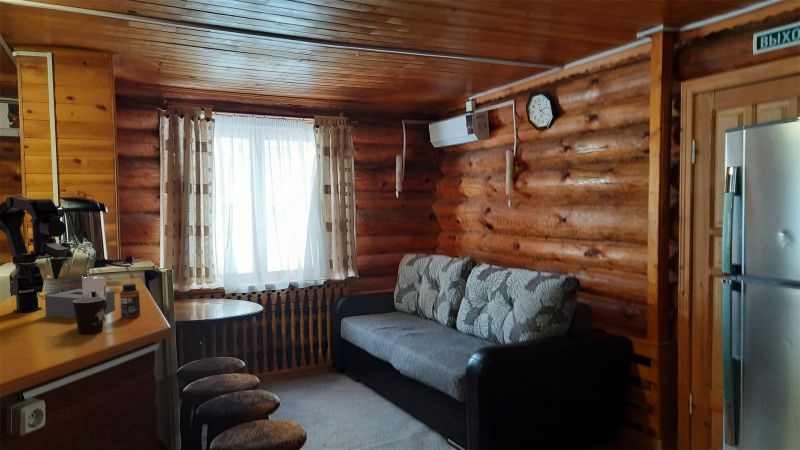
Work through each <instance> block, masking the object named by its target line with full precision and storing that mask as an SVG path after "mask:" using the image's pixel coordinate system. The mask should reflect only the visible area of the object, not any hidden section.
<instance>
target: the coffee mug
mask: <svg viewBox="0 0 800 450" xmlns="http://www.w3.org/2000/svg"><path fill="white" fill-rule="evenodd" d="M73 304H74V310H75V315H76V318H75V321H76V326H77V332H78V335H79V336H80V335H81V336H90V335H96V334H100V333H102V332H103V327H104V323H103V319H104V314H105V313H104V312H105V310H106V306H107V304H106V301H105V298H103V297H89V298H81V299H77V300H74V301H73Z"/></svg>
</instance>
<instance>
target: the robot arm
mask: <svg viewBox="0 0 800 450" xmlns="http://www.w3.org/2000/svg"><path fill="white" fill-rule="evenodd" d="M26 214H28V215H29V216H30V217H31V218H30V221H29V222H30V223H31V229H32V232H31V233H32V238H30V239H29V242H30V243H32V250H30V253H29V252H28V248H27V245H26V242H25V240H24V236H23V232H22V230H21V229H22V225H23V223H24V218H25V216H26ZM60 214H61V213H60V211H59V210H58V208H57V206H56V204H55V202H54V200H52V199H51V198H36V199H35V198H28V197H24V196H22V195H20V196H19V195H18V196H15V195H14V196H8V197H6V198H5V201H4V202H2V203H1V204H0V231H1V232H2V233H4V234H5V237H6V240H7V244H8V248H9V250H10V253H11V256H12V263H13V264H14V267H15V272H14V275H13V277H12V278H13V279H12V280H13V281H12V283H11V285H10V288H9V292H10V295H11V296H15V301H16V308H15V309H12V312H16V313H30V312H34V311H38V310H42V309H43V307H40V306H39V297H38V293H42V292H43V290H44V282H45V280H44V277H43V274H42V272H41V270H40V267H39V266H38V265H37V264H38V263H37V262H36V261H37V260H44V259H49V260H50V265H51V270H52V275H53V279H55V280H58V279H59V276H60V273H61V270H62V267H63V265H64V264H65V263H66V261H69V260H70V258H72V257H73V252H72V250H71V243H70V242H66V241H65V242H62V243H57V239H56V238H59V237H62V236H63V235H65V233H66V231H67V226H66V224H65V222H64V221H62V220H60V219H61V216H60Z"/></svg>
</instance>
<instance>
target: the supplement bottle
mask: <svg viewBox="0 0 800 450" xmlns="http://www.w3.org/2000/svg"><path fill="white" fill-rule="evenodd" d="M119 296H120V297H119V299H120V300H119V301H120V302H119V303H120V316H121V318H122V319H125V318H126V319H127V318H129V319H136V318H139V317H141V302H140V299H141V298H140V290H139V289H137V285H136V283H132V282H131V283H130V282H129V283H123V284H122V290H121V291H120V293H119ZM135 317H136V318H135ZM127 320H128V319H127Z"/></svg>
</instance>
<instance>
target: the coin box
mask: <svg viewBox="0 0 800 450" xmlns="http://www.w3.org/2000/svg"><path fill="white" fill-rule="evenodd" d="M115 295H116V294H115V290H107V289H106V300H105V301H106V304H107V306H106V310H105V312H104V314H107V313H111V312H113V311H114V312H115V310H116V302H115V300H116V299H115V298H116V297H115ZM81 298H83V296H82V288H76V289H72V290H71V289H70V290H66V291H63V292H57V293H53V294H47V295H44V301H45V306H44V307H45V317H52V318H54V317H55V318H64V319H76V315H75V310H74V304H73V301H74V300H77V299H81Z"/></svg>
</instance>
